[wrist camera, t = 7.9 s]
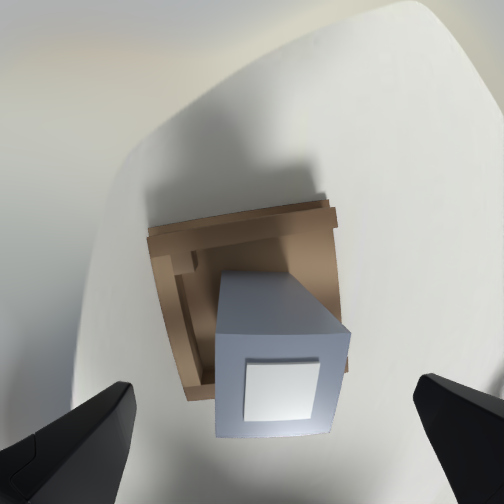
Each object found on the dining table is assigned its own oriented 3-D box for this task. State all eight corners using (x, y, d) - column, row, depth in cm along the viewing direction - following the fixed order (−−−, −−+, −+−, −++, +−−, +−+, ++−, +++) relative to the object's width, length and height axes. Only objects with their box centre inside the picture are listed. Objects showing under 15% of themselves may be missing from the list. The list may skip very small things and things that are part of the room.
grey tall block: (284, 334, 20) (331, 434, 10) (220, 333, 20) (215, 439, 9) (289, 272, 20) (353, 334, 9) (221, 270, 19) (215, 335, 9)
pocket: (341, 358, 21) (354, 375, 18) (186, 386, 21) (182, 407, 18) (326, 199, 20) (341, 197, 17) (149, 228, 19) (137, 230, 16)
